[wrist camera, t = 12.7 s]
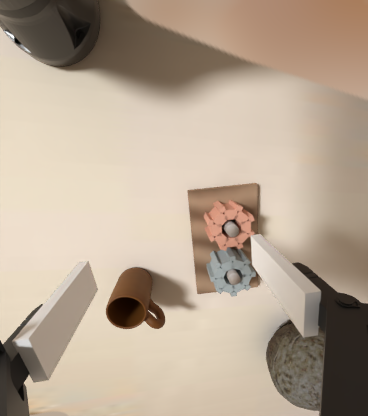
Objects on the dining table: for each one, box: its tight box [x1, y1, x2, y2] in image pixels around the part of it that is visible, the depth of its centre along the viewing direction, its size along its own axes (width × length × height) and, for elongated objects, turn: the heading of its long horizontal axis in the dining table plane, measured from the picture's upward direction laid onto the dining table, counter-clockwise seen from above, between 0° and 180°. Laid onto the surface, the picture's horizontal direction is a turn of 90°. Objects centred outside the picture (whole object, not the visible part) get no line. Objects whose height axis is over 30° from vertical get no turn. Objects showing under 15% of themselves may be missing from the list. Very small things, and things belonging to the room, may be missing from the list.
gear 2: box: [206, 247, 256, 296], centre depth 40 cm, size 9×9×5 cm
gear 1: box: [204, 200, 255, 251], centre depth 38 cm, size 9×9×5 cm
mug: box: [106, 268, 165, 329], centre depth 40 cm, size 12×8×9 cm, turn 54°
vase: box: [266, 323, 325, 411], centre depth 36 cm, size 17×17×30 cm
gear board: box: [188, 183, 258, 294], centre depth 39 cm, size 24×14×7 cm, turn 6°
